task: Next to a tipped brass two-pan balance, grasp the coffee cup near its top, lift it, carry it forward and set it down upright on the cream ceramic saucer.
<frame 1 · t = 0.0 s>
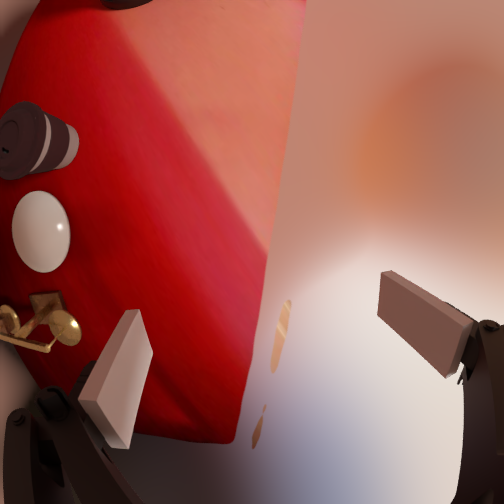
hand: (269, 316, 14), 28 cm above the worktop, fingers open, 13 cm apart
saucer: (41, 231, 36), on the worktop
balance: (50, 306, 39), on the worktop
coffee cup: (63, 146, 33), on the worktop
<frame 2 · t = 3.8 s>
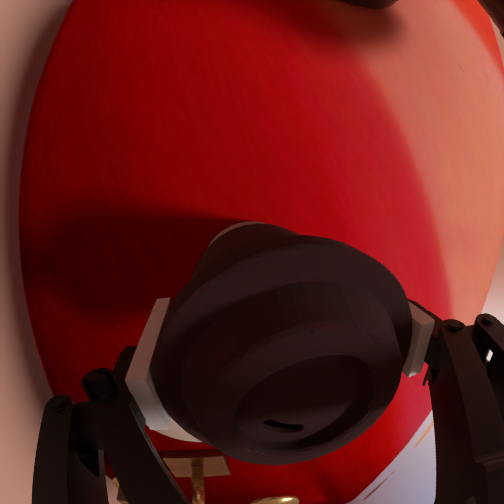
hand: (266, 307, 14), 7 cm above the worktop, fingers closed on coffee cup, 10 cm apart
saucer: (194, 395, 24), on the worktop
balance: (197, 461, 28), on the worktop
coffee cup: (248, 265, 22), on the worktop, touching gripper
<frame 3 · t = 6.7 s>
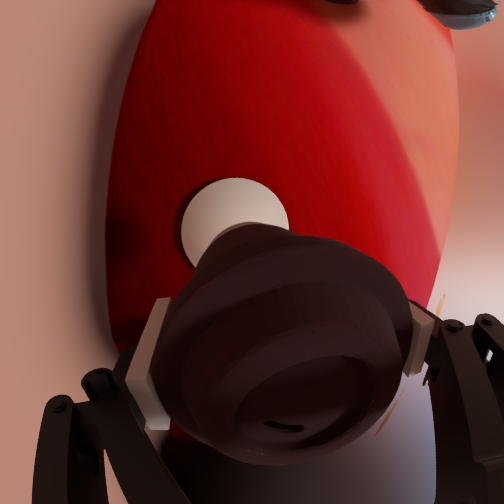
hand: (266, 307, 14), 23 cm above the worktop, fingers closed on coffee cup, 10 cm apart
saucer: (234, 230, 36), on the worktop
coffee cup: (249, 265, 22), point 15 cm above the worktop, touching gripper
when the fingers open (10 cm above the worktop, at t = 9.5 s): coffee cup drops 1 cm, resting on saucer.
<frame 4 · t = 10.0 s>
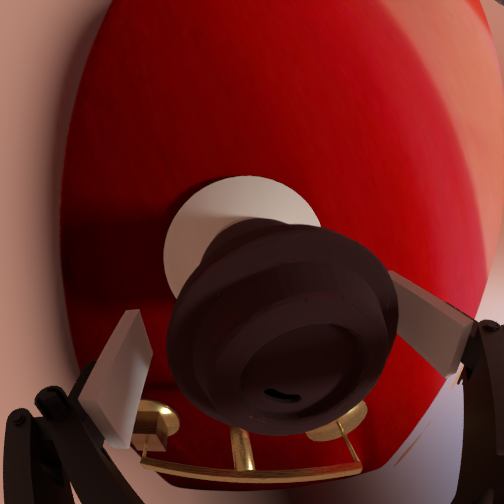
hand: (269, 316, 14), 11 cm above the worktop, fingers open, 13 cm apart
saucer: (245, 256, 24), on the worktop
balance: (232, 380, 28), on the worktop
coffee cup: (250, 258, 23), point 1 cm above the worktop, touching saucer
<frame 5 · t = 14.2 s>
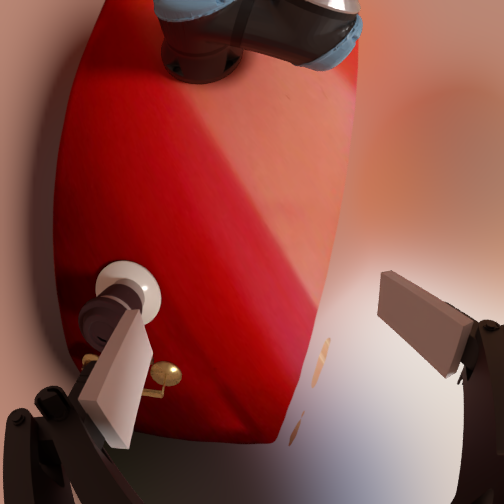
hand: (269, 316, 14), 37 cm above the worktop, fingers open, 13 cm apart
saucer: (128, 293, 50), on the worktop
balance: (134, 351, 53), on the worktop
coffee cup: (128, 294, 49), point 1 cm above the worktop, touching saucer
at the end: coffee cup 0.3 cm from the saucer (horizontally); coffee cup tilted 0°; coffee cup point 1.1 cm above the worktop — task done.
